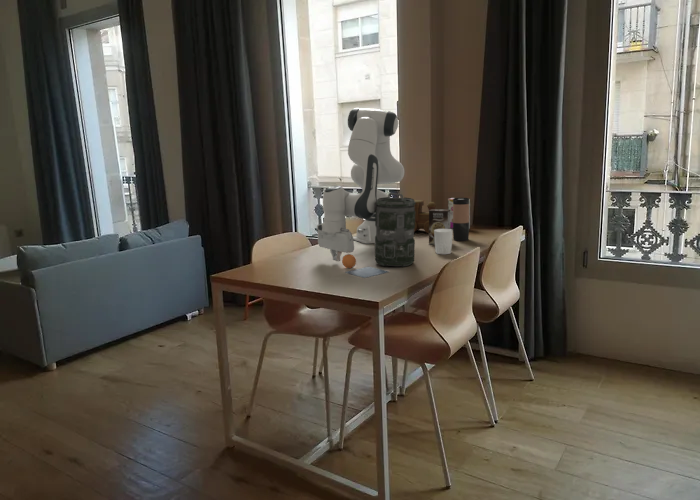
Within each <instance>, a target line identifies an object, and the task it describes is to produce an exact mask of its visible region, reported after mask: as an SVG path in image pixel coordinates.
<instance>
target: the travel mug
mask: <svg viewBox="0 0 700 500" xmlns="http://www.w3.org/2000/svg"><path fill="white" fill-rule="evenodd" d="M453 198H454V199H453V229H452V230H453V233H452V240H453V241H455V242H456V241H457V242H466V241H469V239H470V238H469V235H470V234H469V231H470V229H469V199H470V198H468V197H453Z"/></svg>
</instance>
